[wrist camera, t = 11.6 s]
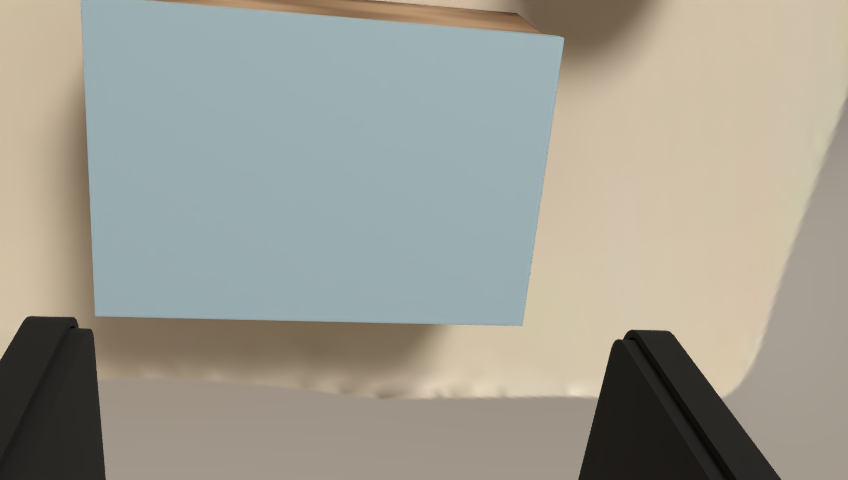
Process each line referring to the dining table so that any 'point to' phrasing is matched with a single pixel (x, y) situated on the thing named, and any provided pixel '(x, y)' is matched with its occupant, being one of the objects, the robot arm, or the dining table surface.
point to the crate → (385, 12)
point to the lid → (312, 164)
